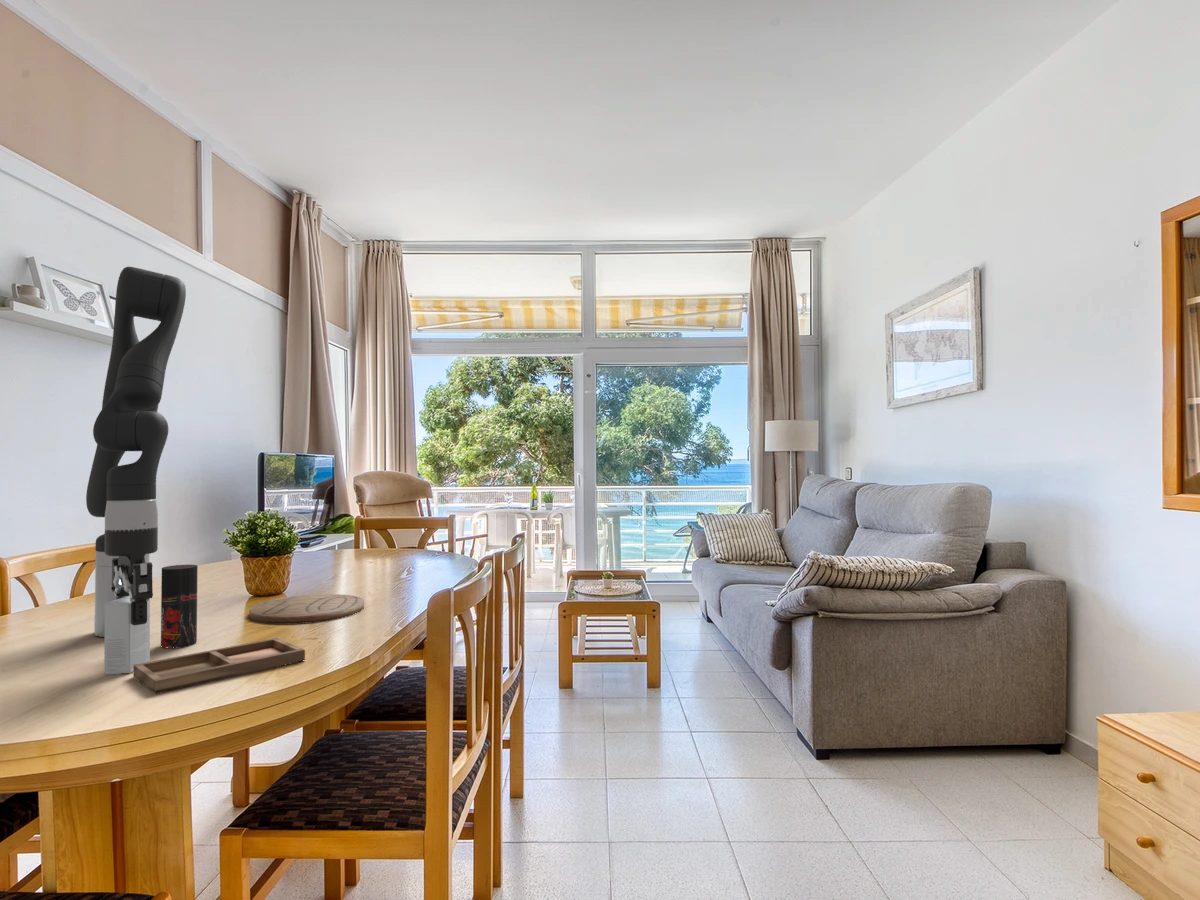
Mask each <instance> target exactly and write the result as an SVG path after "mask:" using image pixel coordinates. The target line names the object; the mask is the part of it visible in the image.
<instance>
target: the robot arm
mask: <svg viewBox="0 0 1200 900" xmlns="http://www.w3.org/2000/svg"><path fill="white" fill-rule="evenodd" d="M186 296H187V291H186V285H185V282H184V280H183V279H180V278H178V277H176V276H172V275H169V274H164V273H160V272H156V271H152V270H147V269H143V268H139V267H134V266H125V267H124V268H123V269H122V270H121V272H120V274H119V276H118V280H117V285H116V292H115V305H114V306H115V307H114V317H113V329H112V340H111V341H112V342H111V350H110V356H109V360H108V361H109V362H108V368H107V372H106V377H105V382H104V388H103V396H102V402H101V403H102V404H101V410H100V411H99V413H98V415H97V417H96V419H95V422H94V424H93V429H92V435H93V440H94V442H95V443H96V448H95V453H94V457H93V461H92V465H91V468H90V469H91V470H90V472H89V478H88V482H87V486H86V487H87V488H86V496H85V497H86V498H85V500H86V502H85V503H86V508H87V511H88V513H89V514H90V515H91V516H92V517H95V518H104V534H101V535H99V536H97V538H96V539H95V544H94V546H95V549H94V550H95V551H94V553H95V555H94V556H95V558H94V560H95V561H94V563H95V564H94V566H95V567H94V568H95V569H94V573H95V575H94V576H95V577H94V633H93V634H94V636H95V637H98V636H99V637H98V638H104V619H105V618H104V604H105V603H107V602H110V601H113V600H116V599H119V598H122V597H125V596H130V601H131V624H132V625H141V624H145V623H146V622H147V601H149V598H150V599H152V598H153V596H154V593H153V589H154V588H153V563H152V561H150V554H153V553H154V554H155V553H156V552H157V551H158V550H159V547H158V545H159V542H158V540H159V539H158V538H159V535H158V534H159V532H158V531H159V530H158V529H159V527H158V525H159V524H158V523H159V522H158V520H159V519H158V517H159V514H158V506H157V475H158V469H159V464H160V460H161V457H162V454H163V451H164V447H165V445H166V442H167V441H168V437H169V436H168V435H169V430H170V429H169V424H168V421H167V419H166V418H165V417H164V415H163V414H161V413H160V412H158V409H159V404H160V402H161V400H162V395H163V389H164V383H165V376H166V369H167V366H168V363H169V358H170V355H171V353H172V350H173V346H174V344H175V341H176V338H177V335H178V331H179V328H180V324H181V322H182V321H181V320H182V317H183V313H184V309H185V303H186ZM134 317H138V318H143V319H147V320H152V321H157V322H159V324H158V326H157V327H156V328H155V329H154V330H153V331H152V332H151V333H150V334H148V335H147V336H146V337H144V338H143V339H141V340H139V337H138V334H137V331H136V328H135V327H136V326H135V319H134ZM126 452H141V455H140V456H139V458H138V459H137V460H136V461H134V462H131V463H128V464H121V465H119V464H120V462H121V460H122V458H123V456H124V454H125V453H126Z"/></svg>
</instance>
